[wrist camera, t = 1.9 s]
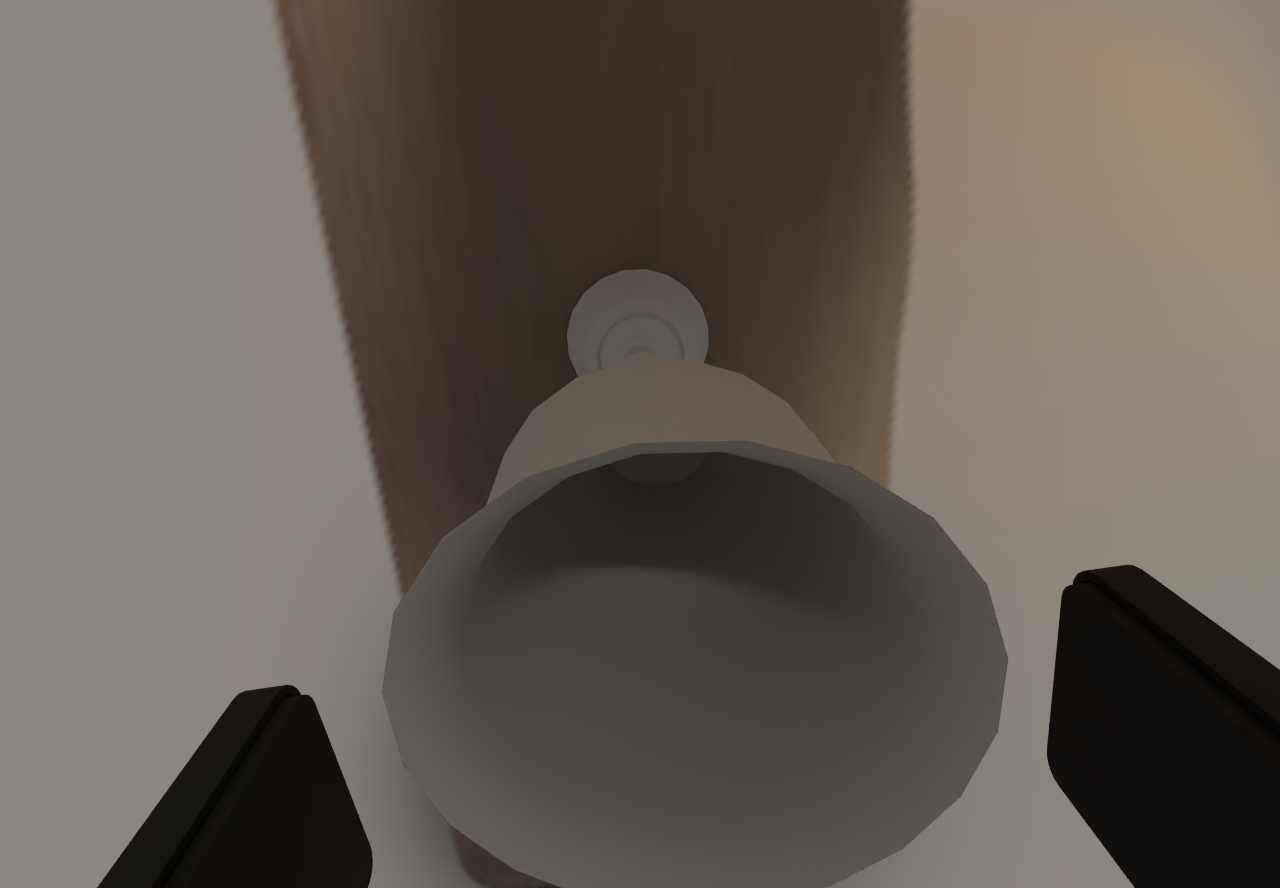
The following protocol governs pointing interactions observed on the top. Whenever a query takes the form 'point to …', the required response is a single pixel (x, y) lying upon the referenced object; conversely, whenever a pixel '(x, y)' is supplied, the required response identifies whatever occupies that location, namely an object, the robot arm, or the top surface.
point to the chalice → (688, 634)
